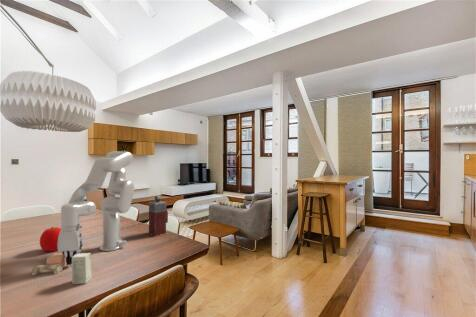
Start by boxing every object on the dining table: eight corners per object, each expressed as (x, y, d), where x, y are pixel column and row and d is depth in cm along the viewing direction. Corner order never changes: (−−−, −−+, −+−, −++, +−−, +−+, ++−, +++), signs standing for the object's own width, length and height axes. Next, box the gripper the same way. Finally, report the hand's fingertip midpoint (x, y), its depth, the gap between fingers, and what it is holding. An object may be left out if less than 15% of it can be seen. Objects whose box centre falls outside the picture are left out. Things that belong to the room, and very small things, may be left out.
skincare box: (91, 278, 108) (91, 252, 108) (86, 284, 104) (86, 256, 104) (77, 279, 108) (77, 252, 108) (71, 284, 104) (71, 256, 104)
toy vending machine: (168, 232, 174) (169, 195, 174) (155, 236, 165) (155, 197, 165) (162, 230, 180) (162, 193, 180) (148, 233, 171) (148, 195, 171)
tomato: (35, 255, 133) (35, 230, 133) (45, 247, 144) (45, 224, 144) (60, 252, 137) (60, 228, 137) (69, 245, 148) (69, 223, 148)
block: (67, 264, 122) (67, 253, 122) (61, 269, 117) (61, 257, 117) (54, 265, 122) (54, 253, 122) (47, 270, 116) (47, 258, 116)
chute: (73, 260, 127) (73, 255, 127) (57, 273, 113) (57, 267, 113) (51, 261, 125) (51, 256, 125) (32, 275, 111) (32, 268, 111)
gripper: (89, 225, 125) (89, 259, 125) (58, 226, 122) (58, 261, 123) (82, 229, 117) (82, 266, 117) (49, 231, 115) (49, 268, 115)
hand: (70, 263), depth 120 cm, fingers closed
